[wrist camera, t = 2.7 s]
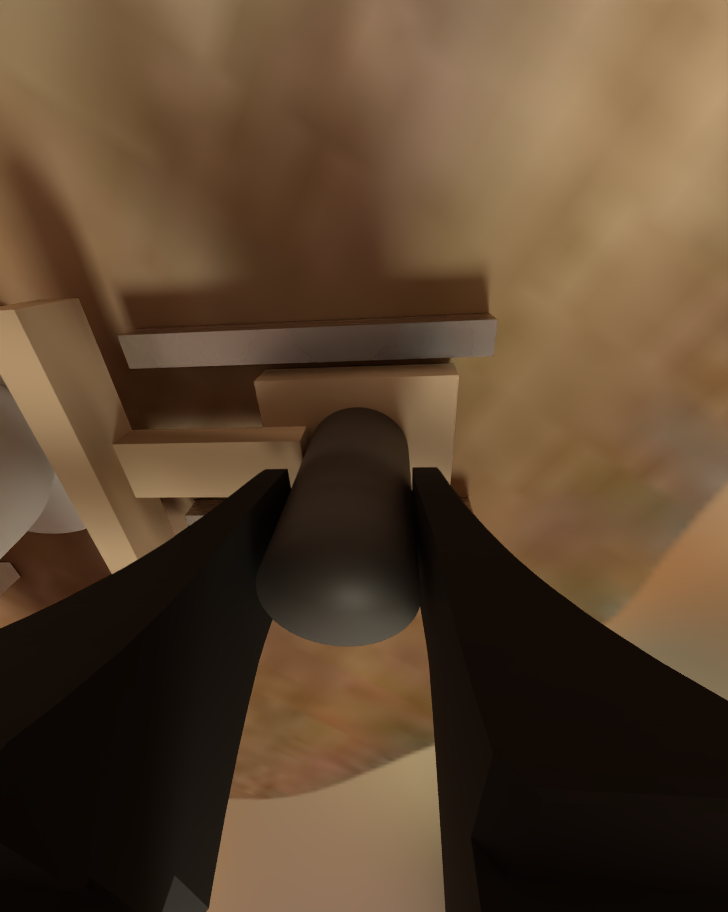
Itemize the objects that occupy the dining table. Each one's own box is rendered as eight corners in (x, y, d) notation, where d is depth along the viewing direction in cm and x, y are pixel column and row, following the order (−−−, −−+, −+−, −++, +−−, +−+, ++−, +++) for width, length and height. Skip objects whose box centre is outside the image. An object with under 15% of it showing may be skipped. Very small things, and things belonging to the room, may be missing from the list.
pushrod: (440, 542, 15) (471, 730, 9) (172, 541, 16) (48, 711, 10) (458, 274, 10) (549, 317, 4) (70, 294, 11) (-283, 353, 5)
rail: (466, 518, 15) (471, 536, 14) (203, 518, 16) (192, 535, 15) (489, 313, 11) (497, 319, 10) (137, 328, 12) (117, 335, 11)
